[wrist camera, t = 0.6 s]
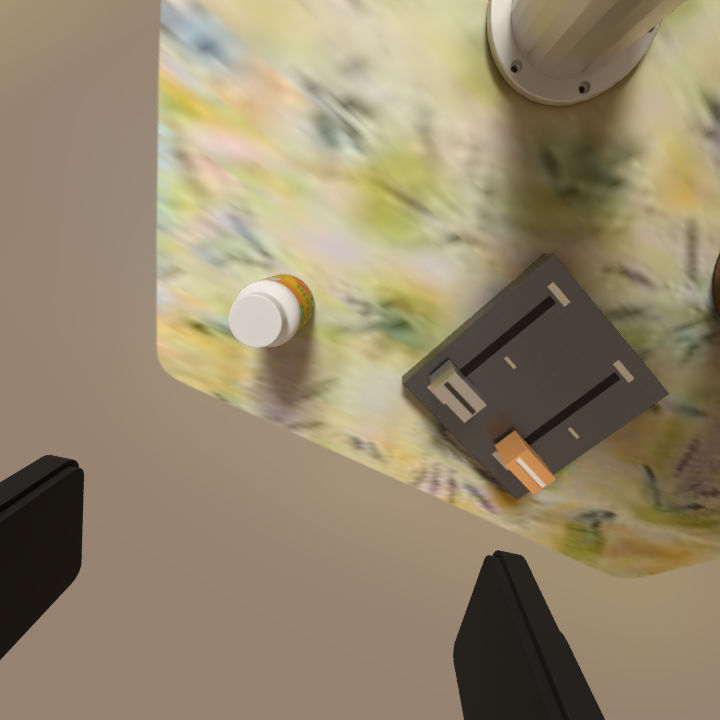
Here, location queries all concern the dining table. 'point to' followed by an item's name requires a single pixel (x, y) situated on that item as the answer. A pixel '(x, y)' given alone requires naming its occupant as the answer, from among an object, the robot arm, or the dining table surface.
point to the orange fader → (524, 462)
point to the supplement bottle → (271, 311)
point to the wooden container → (717, 286)
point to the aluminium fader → (456, 391)
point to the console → (539, 373)
